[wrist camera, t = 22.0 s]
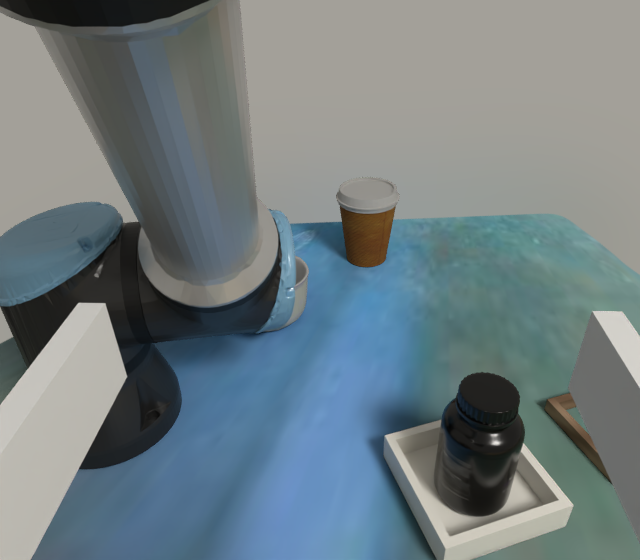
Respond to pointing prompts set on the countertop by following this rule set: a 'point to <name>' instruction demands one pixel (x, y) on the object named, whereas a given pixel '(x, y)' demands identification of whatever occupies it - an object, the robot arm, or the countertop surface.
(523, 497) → the cream tray
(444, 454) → the supplement bottle
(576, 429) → the walnut collar
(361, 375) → the countertop surface
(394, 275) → the countertop surface
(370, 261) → the disposable coffee cup
